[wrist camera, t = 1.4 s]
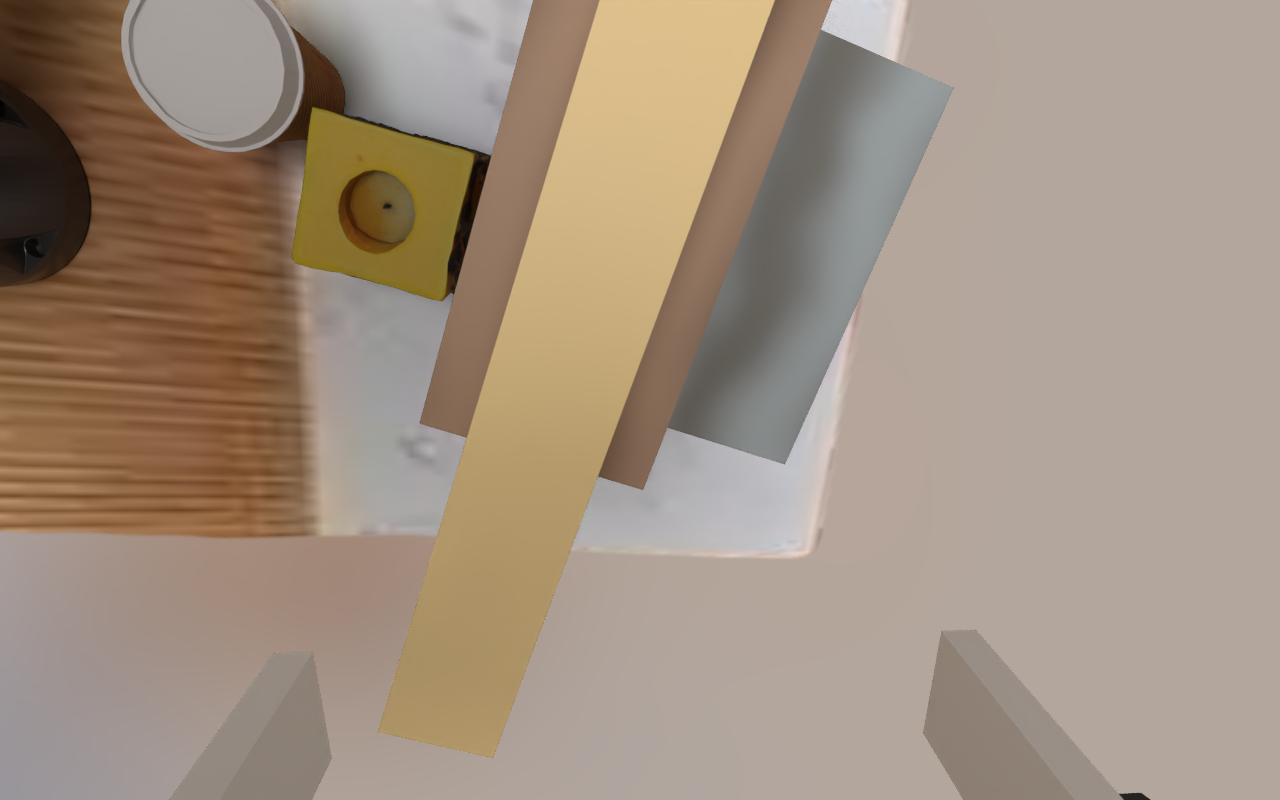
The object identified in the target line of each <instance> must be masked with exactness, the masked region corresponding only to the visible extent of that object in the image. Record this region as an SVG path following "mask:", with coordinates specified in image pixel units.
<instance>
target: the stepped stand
mask: <svg viewBox="0 0 1280 800" xmlns="http://www.w3.org/2000/svg"><path fill="white" fill-rule="evenodd" d="M599 1H600V0H533V3H532V7H531V11H530V15H529V18H528V22H527V26H526V29H525V33H524V37H523V41H522V44H521V48H520V52H519V55H518V59H517V63H516V67H515V70H514V74H513V78H512V81H511V85H510V89H509V93H508V96H507V100H506V104H505V108H504V111H503V115H502V119H501V122H500V126H499V130H498V134H497V137H496V141H495V145H494V148H493V152H492V156H491V160H490V163H489V167H488V171H487V174H486V178H485V182H484V186H483V189H482V193H481V197H480V200H479V204H478V208H477V212H476V215H475V219H474V223H473V227H472V230H471V234H470V238H469V241H468V245H467V249H466V253H465V256H464V260H463V264H462V267H461V271H460V275H459V279H458V282H457V286H456V290H455V293H454V297H453V301H452V305H451V308H450V312H449V316H448V319H447V323H446V327H445V331H444V334H443V338H442V342H441V346H440V349H439V353H438V357H437V360H436V364H435V368H434V372H433V375H432V379H431V383H430V386H429V390H428V394H427V398H426V401H425V405H424V409H423V412H422V416H421V420H420V424H423V425H426V426H430V427H433V428H436V429H440V430H443V431H447V432H450V433H453V434H457V435H460V436H463V437H467V436H468V433H469V429H470V426H471V423H472V419H473V416H474V413H475V409H476V406H477V403H478V400H479V396H480V393H481V390H482V386H483V383H484V380H485V377H486V373H487V370H488V367H489V363H490V360H491V357H492V353H493V350H494V347H495V344H496V340H497V337H498V334H499V330H500V327H501V324H502V320H503V317H504V314H505V311H506V307H507V304H508V301H509V297H510V294H511V291H512V287H513V284H514V281H515V278H516V274H517V271H518V268H519V264H520V261H521V258H522V255H523V251H524V248H525V245H526V241H527V238H528V235H529V231H530V228H531V225H532V222H533V218H534V215H535V212H536V208H537V205H538V202H539V198H540V195H541V192H542V189H543V185H544V182H545V179H546V175H547V172H548V169H549V165H550V162H551V159H552V156H553V152H554V149H555V146H556V142H557V139H558V136H559V132H560V129H561V126H562V123H563V119H564V116H565V113H566V109H567V106H568V103H569V100H570V96H571V93H572V90H573V86H574V83H575V80H576V76H577V73H578V70H579V67H580V63H581V60H582V57H583V53H584V50H585V47H586V43H587V40H588V37H589V34H590V30H591V27H592V24H593V20H594V17H595V14H596V10H597V7H598V4H599ZM831 2H832V0H775V1H774V4H773V7H772V9H771V12H770V15H769V17H768V20H767V23H766V25H765V28H764V31H763V34H762V36H761V39H760V42H759V44H758V47H757V50H756V52H755V55H754V58H753V60H752V63H751V66H750V69H749V71H748V74H747V77H746V79H745V82H744V85H743V87H742V90H741V93H740V95H739V98H738V101H737V103H736V106H735V109H734V112H733V114H732V117H731V120H730V122H729V125H728V128H727V130H726V133H725V136H724V138H723V141H722V144H721V147H720V149H719V152H718V155H717V157H716V160H715V163H714V165H713V168H712V171H711V173H710V176H709V179H708V182H707V184H706V187H705V190H704V192H703V195H702V198H701V200H700V203H699V206H698V208H697V211H696V214H695V216H694V219H693V222H692V225H691V227H690V230H689V233H688V235H687V238H686V241H685V243H684V246H683V249H682V251H681V254H680V257H679V260H678V262H677V265H676V268H675V270H674V273H673V276H672V278H671V281H670V284H669V286H668V289H667V292H666V295H665V297H664V300H663V303H662V305H661V308H660V311H659V313H658V316H657V319H656V321H655V324H654V327H653V329H652V332H651V335H650V338H649V340H648V343H647V346H646V348H645V351H644V354H643V356H642V359H641V362H640V364H639V367H638V370H637V373H636V375H635V378H634V381H633V383H632V386H631V389H630V391H629V394H628V397H627V399H626V402H625V405H624V407H623V410H622V413H621V416H620V418H619V421H618V424H617V426H616V429H615V432H614V434H613V437H612V440H611V442H610V445H609V448H608V451H607V453H606V456H605V459H604V461H603V464H602V467H601V469H600V472H599V475H598V477H601V478H605V479H608V480H611V481H615V482H618V483H622V484H625V485H628V486H632V487H635V488H638V489H642V490H643V489H644V486H645V484H646V481H647V479H648V476H649V473H650V471H651V468H652V466H653V463H654V460H655V458H656V455H657V453H658V450H659V447H660V445H661V442H662V440H663V437H664V434H665V432H666V429H667V427H668V428H671V429H674V430H677V431H680V432H684V433H687V434H690V435H693V436H696V437H699V438H703V439H706V440H709V441H712V442H715V443H719V444H722V445H725V446H728V447H731V448H734V449H738V450H741V451H744V452H747V453H750V454H753V455H757V456H760V457H763V458H766V459H769V460H772V461H776V462H779V463H782V464H785V463H786V461H787V459H788V456H789V454H790V452H791V450H792V447H793V445H794V443H795V441H796V439H797V436H798V434H799V432H800V430H801V427H802V425H803V423H804V421H805V418H806V416H807V414H808V412H809V410H810V407H811V405H812V403H813V401H814V398H815V396H816V394H817V392H818V389H819V387H820V385H821V383H822V381H823V378H824V376H825V374H826V372H827V369H828V367H829V365H830V363H831V361H832V358H833V356H834V354H835V352H836V349H837V347H838V345H839V343H840V340H841V338H842V336H843V334H844V332H845V329H846V327H847V325H848V323H849V320H850V318H851V316H852V314H853V312H854V309H855V307H856V305H857V303H858V300H859V298H860V296H861V294H862V291H863V289H864V287H865V285H866V283H867V280H868V278H869V276H870V274H871V271H872V269H873V267H874V265H875V262H876V260H877V258H878V256H879V253H880V251H881V249H882V247H883V244H884V242H885V240H886V238H887V236H888V234H889V231H890V229H891V227H892V225H893V222H894V220H895V218H896V216H897V213H898V211H899V209H900V207H901V204H902V202H903V200H904V198H905V196H906V193H907V191H908V189H909V187H910V185H911V182H912V180H913V178H914V176H915V173H916V171H917V169H918V167H919V164H920V162H921V160H922V158H923V156H924V153H925V151H926V149H927V147H928V144H929V142H930V140H931V138H932V135H933V133H934V131H935V129H936V127H937V124H938V122H939V120H940V118H941V115H942V113H943V111H944V109H945V107H946V104H947V102H948V100H949V97H950V95H951V93H952V91H953V89H954V88H953V87H951V86H949V85H946V84H944V83H942V82H939V81H937V80H935V79H933V78H930V77H928V76H926V75H924V74H921V73H919V72H917V71H914V70H912V69H910V68H907V67H905V66H903V65H901V64H898V63H896V62H894V61H891V60H889V59H887V58H884V57H882V56H880V55H878V54H875V53H873V52H871V51H868V50H866V49H864V48H862V47H859V46H857V45H855V44H852V43H850V42H848V41H845V40H843V39H841V38H839V37H836V36H834V35H832V34H829V33H827V32H825V31H822V30H821V28H822V25H823V22H824V20H825V17H826V15H827V12H828V9H829V7H830V4H831Z"/></svg>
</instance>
